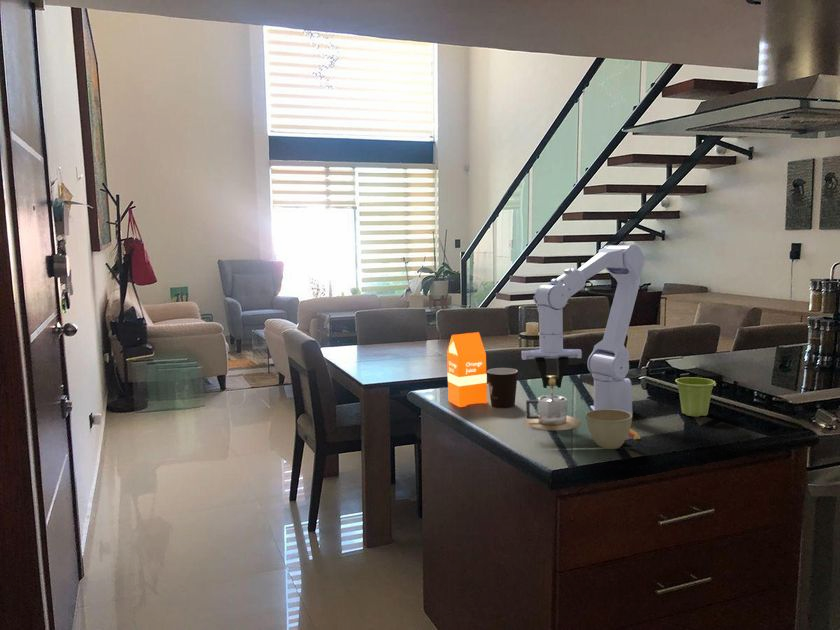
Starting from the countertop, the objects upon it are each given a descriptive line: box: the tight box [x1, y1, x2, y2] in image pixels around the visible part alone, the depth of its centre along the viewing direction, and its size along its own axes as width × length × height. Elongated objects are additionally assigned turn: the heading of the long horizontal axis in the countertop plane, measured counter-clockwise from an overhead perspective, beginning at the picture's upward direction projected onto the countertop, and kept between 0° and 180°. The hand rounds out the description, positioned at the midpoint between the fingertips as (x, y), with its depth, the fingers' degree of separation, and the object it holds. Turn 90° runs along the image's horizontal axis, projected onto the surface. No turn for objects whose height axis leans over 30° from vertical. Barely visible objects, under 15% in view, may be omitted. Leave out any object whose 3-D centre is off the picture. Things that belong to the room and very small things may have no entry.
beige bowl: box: [585, 409, 633, 450], centre depth 146 cm, size 10×10×7 cm
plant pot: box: [674, 376, 716, 418], centre depth 168 cm, size 9×9×9 cm
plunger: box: [542, 374, 562, 402], centre depth 164 cm, size 5×5×6 cm
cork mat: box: [523, 414, 582, 431], centre depth 165 cm, size 14×14×1 cm
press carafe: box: [525, 394, 568, 426], centre depth 165 cm, size 10×7×6 cm
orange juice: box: [446, 331, 488, 408], centre depth 188 cm, size 8×9×20 cm
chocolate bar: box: [627, 428, 642, 440], centre depth 155 cm, size 3×12×2 cm, turn 7°
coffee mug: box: [486, 367, 519, 409], centre depth 184 cm, size 12×9×10 cm
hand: (551, 387), depth 164 cm, fingers closed on plunger, 3 cm apart
